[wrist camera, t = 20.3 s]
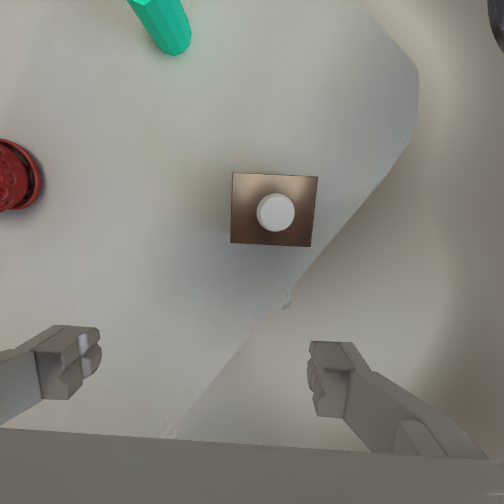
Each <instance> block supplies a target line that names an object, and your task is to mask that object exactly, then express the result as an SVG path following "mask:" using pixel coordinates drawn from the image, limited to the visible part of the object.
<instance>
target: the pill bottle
mask: <svg viewBox="0 0 504 504" xmlns="http://www.w3.org/2000/svg"><path fill="white" fill-rule="evenodd" d="M294 213H295V211H294V206H293V203H292V202H291V200H290V199H289V198H288V197H287V196H285V195H283V194H279V193H273V194H270V195H267V196H265V197H264V198H263V199H262V200H261V201H260V202H259V204H258V207H257V212H256V214H257V219H258V222H259V223H260V224H261V226H262V227H264V228H265V229H267V230H269V231H274V232H276V231H281V230H284V229H286V228H287V227H288V226H289V225H290V224H291V223H292V221H293V219H294Z"/></svg>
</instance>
